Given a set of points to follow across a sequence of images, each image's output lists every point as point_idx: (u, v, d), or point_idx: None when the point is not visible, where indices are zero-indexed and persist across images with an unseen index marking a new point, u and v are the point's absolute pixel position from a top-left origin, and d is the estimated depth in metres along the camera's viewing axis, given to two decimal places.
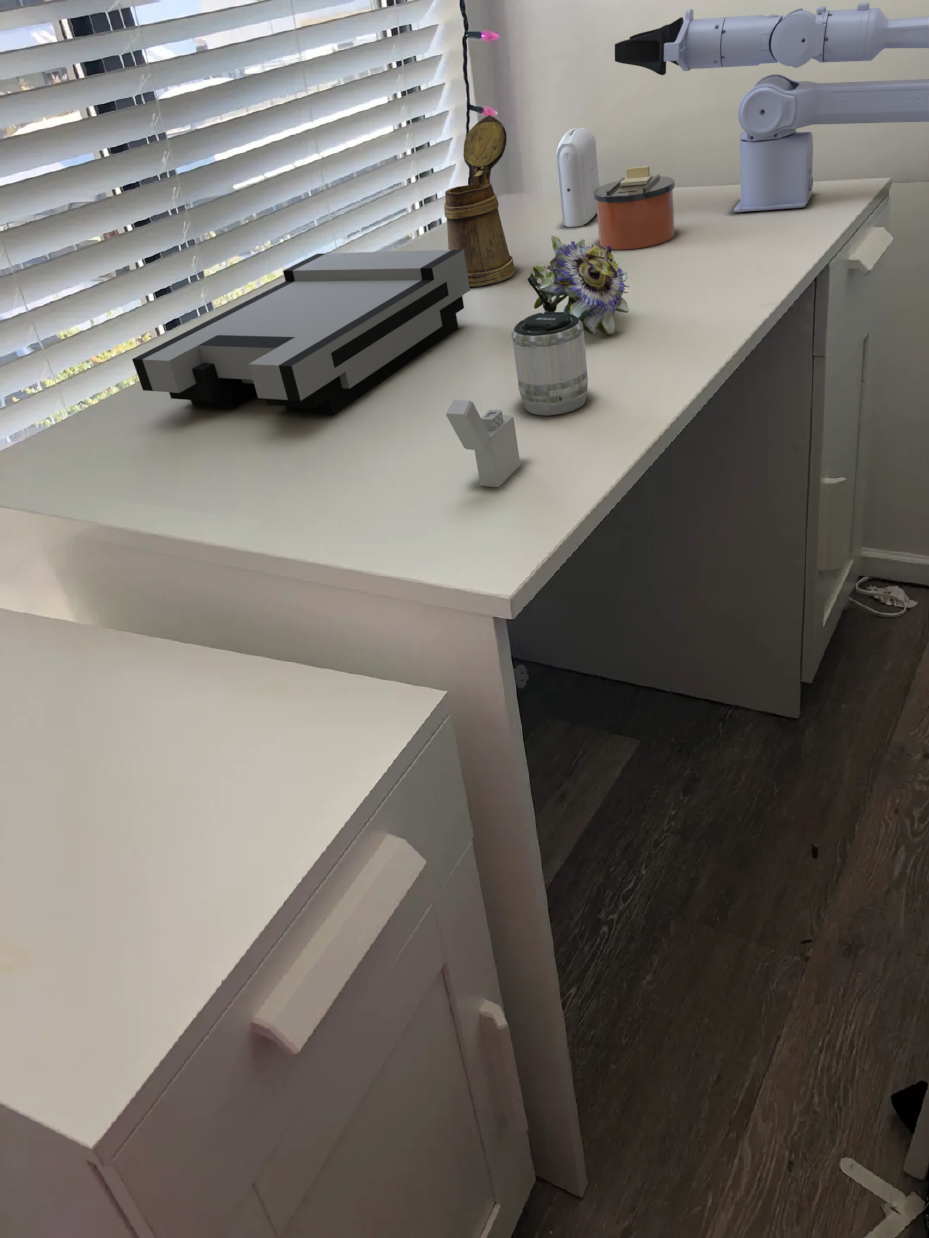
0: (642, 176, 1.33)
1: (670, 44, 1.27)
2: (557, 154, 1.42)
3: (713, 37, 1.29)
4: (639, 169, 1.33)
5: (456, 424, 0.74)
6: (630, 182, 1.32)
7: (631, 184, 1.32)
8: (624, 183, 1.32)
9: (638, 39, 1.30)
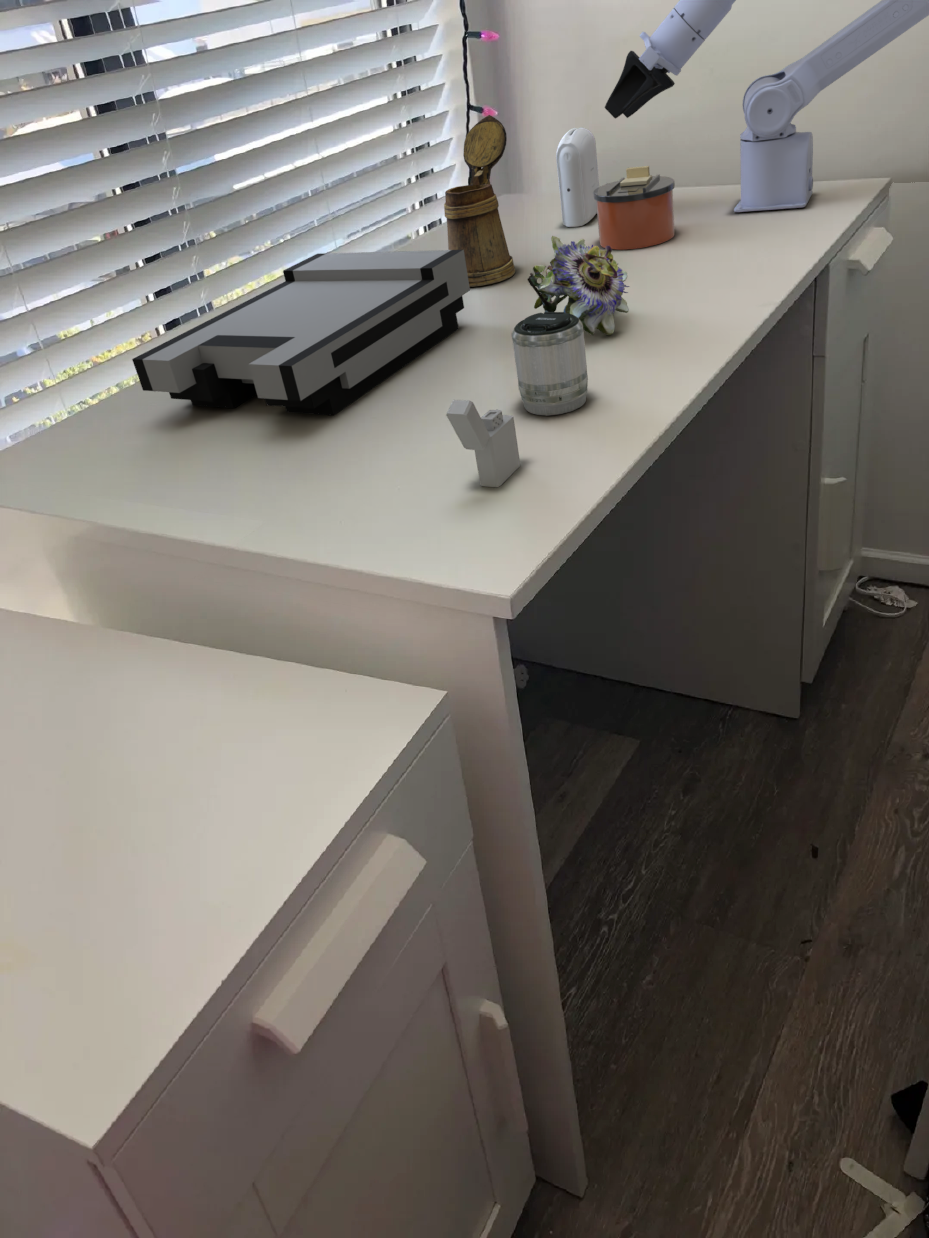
0: (642, 176, 1.33)
1: (643, 53, 1.27)
2: (557, 154, 1.42)
3: (675, 24, 1.28)
4: (639, 169, 1.33)
5: (456, 424, 0.74)
6: (630, 182, 1.32)
7: (631, 184, 1.32)
8: (624, 183, 1.32)
9: (618, 83, 1.31)
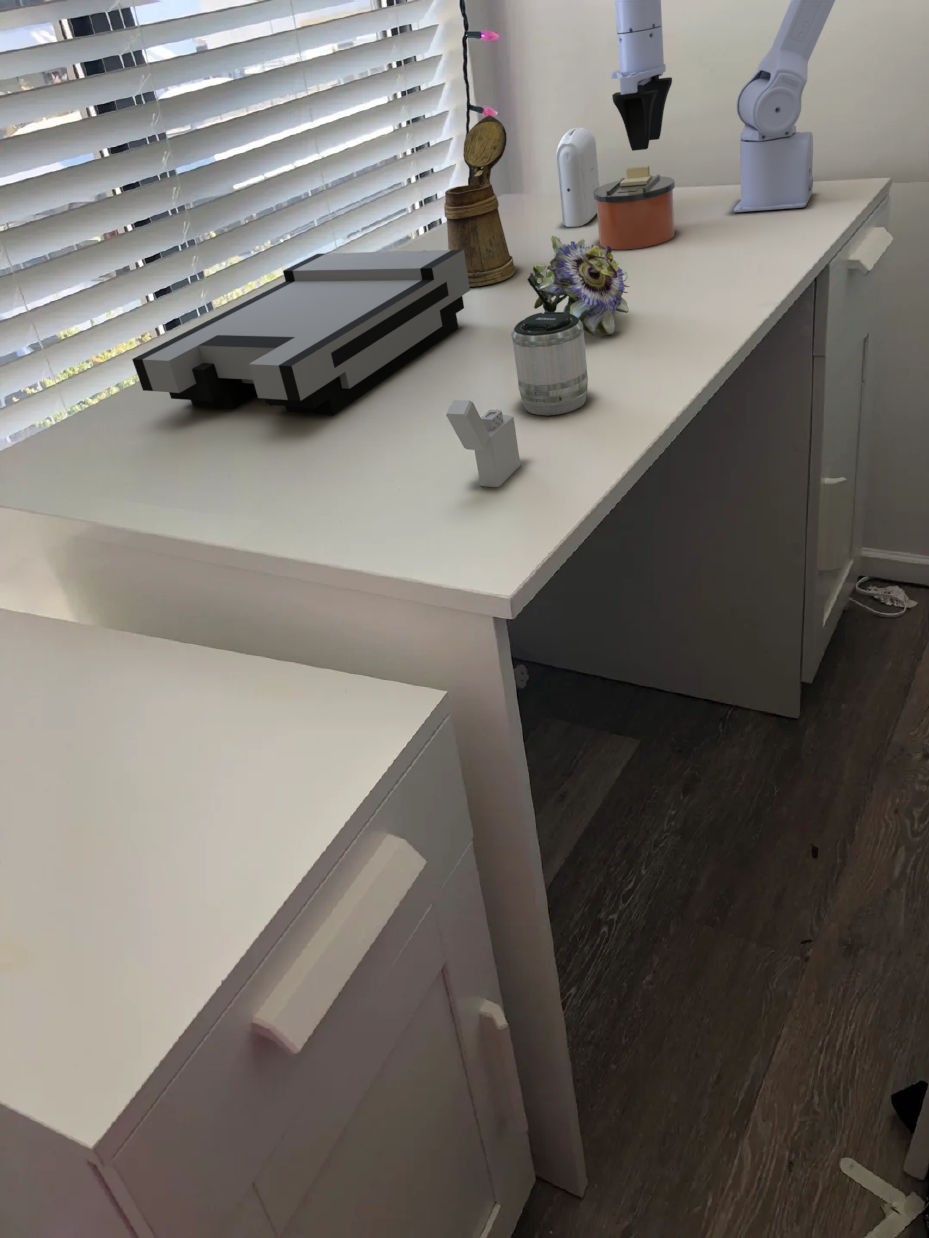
0: (642, 176, 1.33)
1: (620, 88, 1.26)
2: (557, 154, 1.42)
3: (627, 42, 1.27)
4: (639, 169, 1.33)
5: (456, 424, 0.74)
6: (630, 182, 1.32)
7: (631, 184, 1.32)
8: (624, 183, 1.32)
9: (625, 124, 1.31)
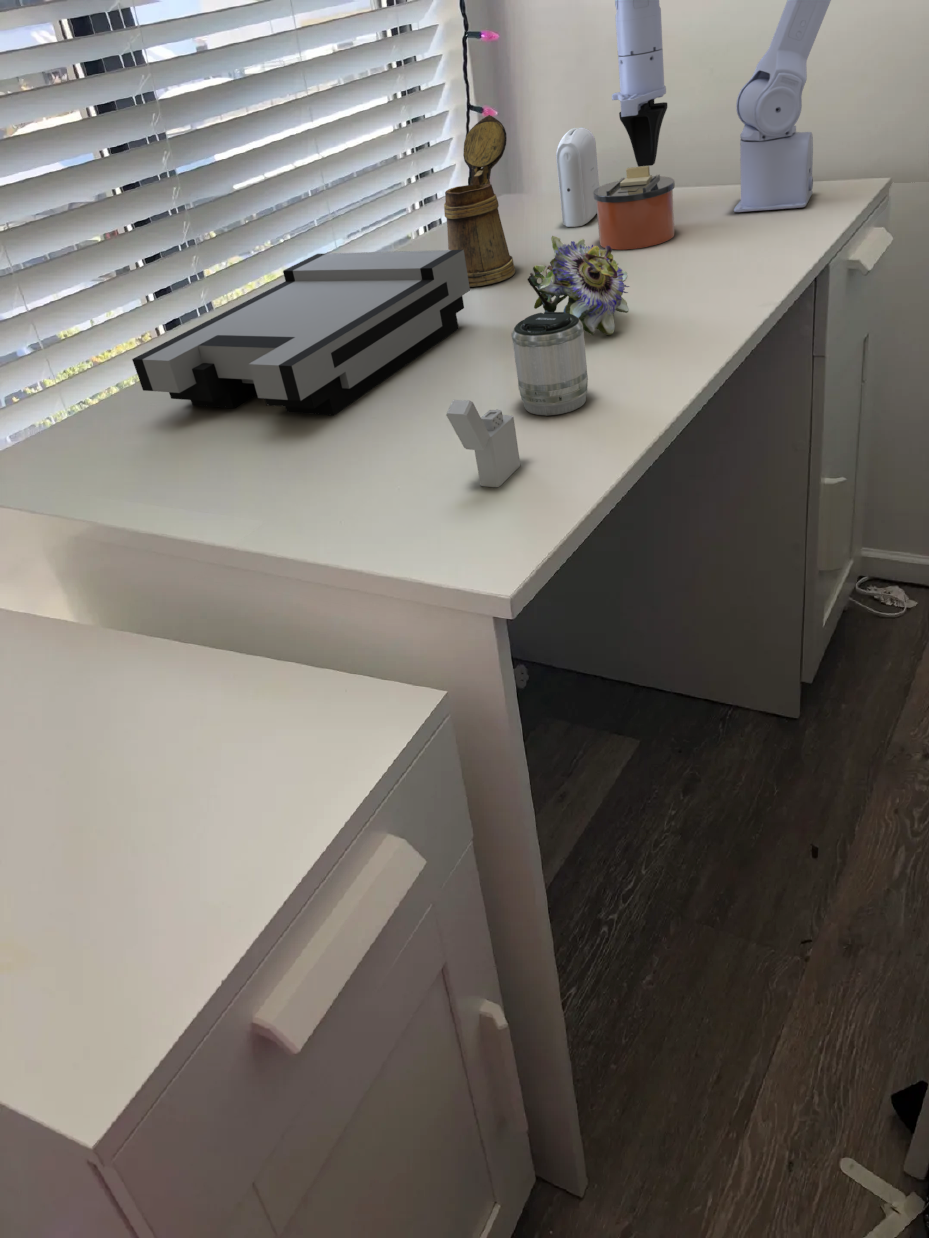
0: (642, 176, 1.33)
1: (621, 110, 1.27)
2: (557, 154, 1.42)
3: (628, 65, 1.28)
4: (639, 169, 1.33)
5: (456, 424, 0.74)
6: (630, 182, 1.32)
7: (631, 184, 1.32)
8: (624, 183, 1.32)
9: (631, 141, 1.35)
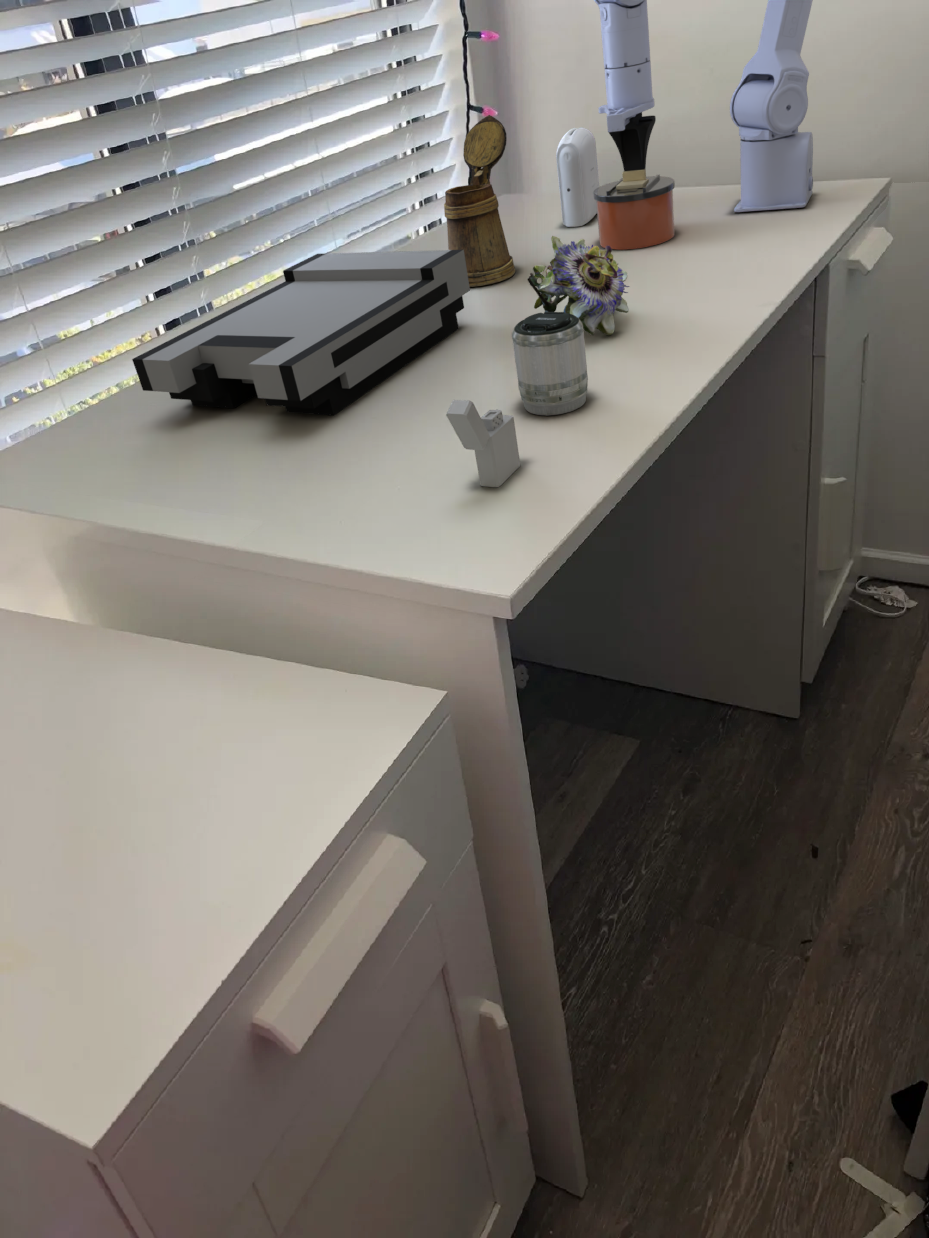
0: (638, 179, 1.32)
1: (607, 125, 1.23)
2: (557, 154, 1.42)
3: (614, 77, 1.24)
4: (635, 172, 1.31)
5: (456, 424, 0.74)
6: (626, 185, 1.31)
7: (627, 188, 1.31)
8: (620, 186, 1.31)
9: (621, 154, 1.31)
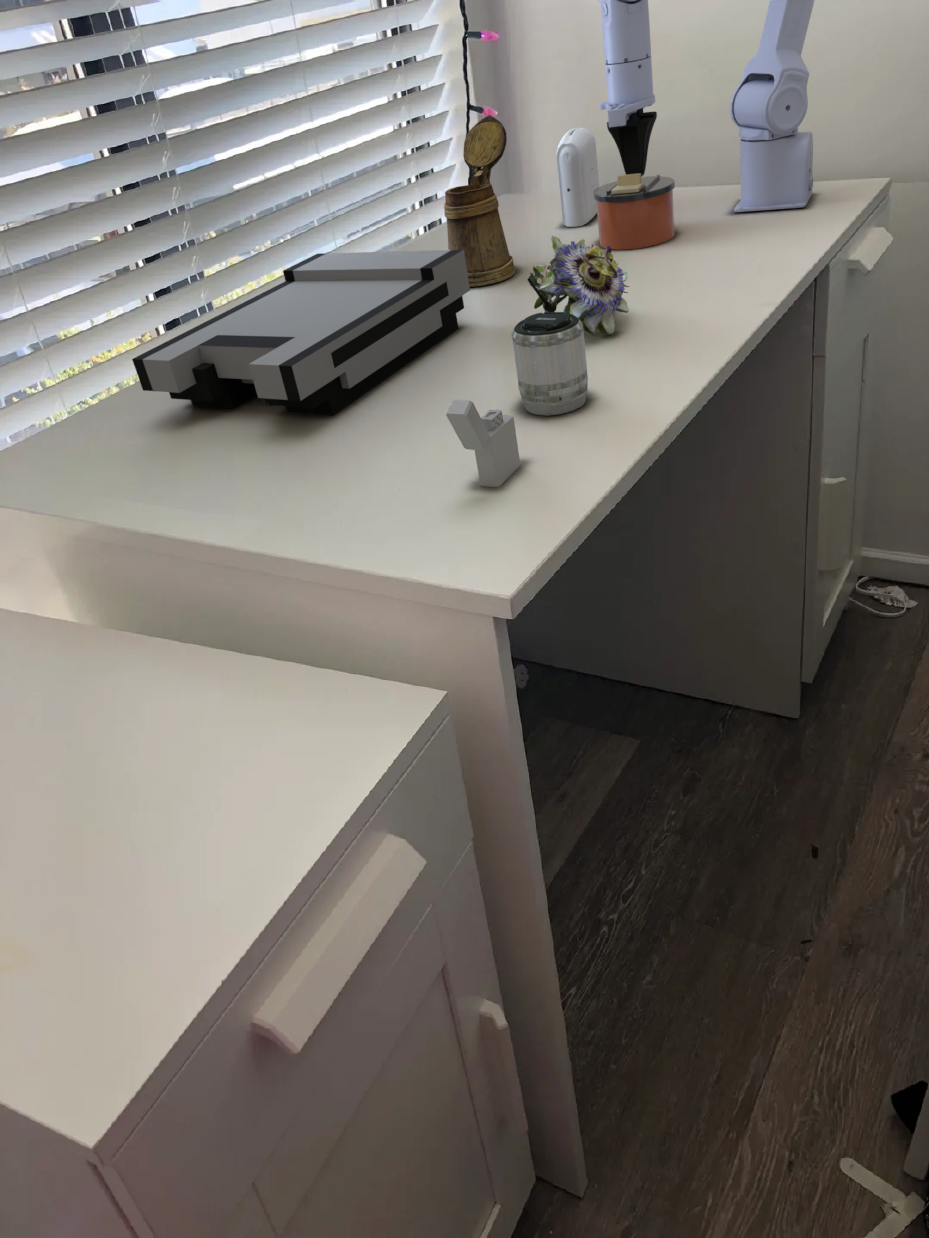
0: (634, 184, 1.30)
1: (608, 120, 1.23)
2: (557, 154, 1.42)
3: (615, 73, 1.24)
4: (631, 176, 1.30)
5: (456, 424, 0.74)
6: (621, 190, 1.29)
7: (622, 192, 1.29)
8: (615, 191, 1.29)
9: (620, 152, 1.30)
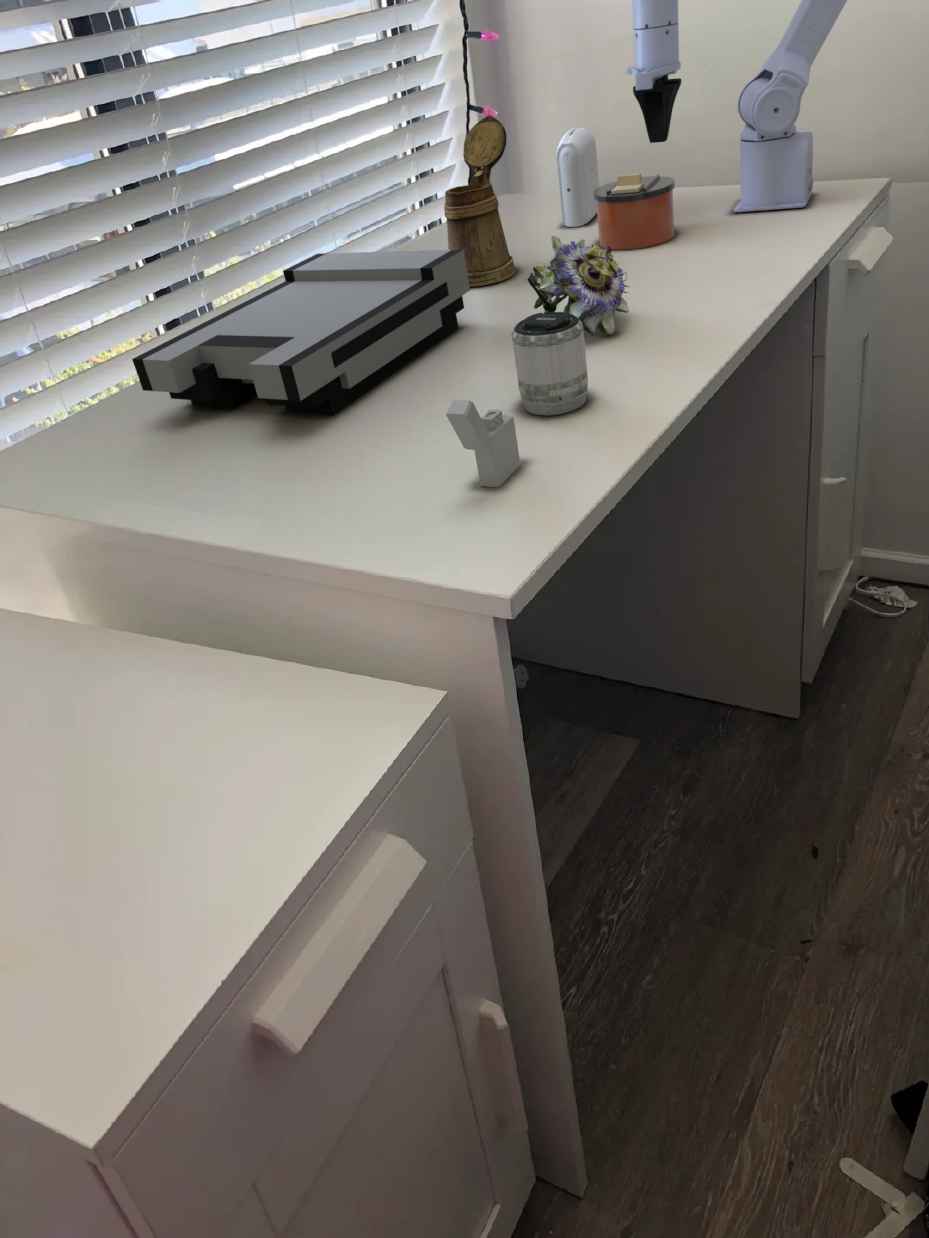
0: (634, 184, 1.30)
1: (635, 83, 1.27)
2: (557, 154, 1.42)
3: (643, 38, 1.27)
4: (631, 176, 1.30)
5: (456, 424, 0.74)
6: (621, 190, 1.29)
7: (622, 192, 1.29)
8: (615, 191, 1.29)
9: (644, 117, 1.34)
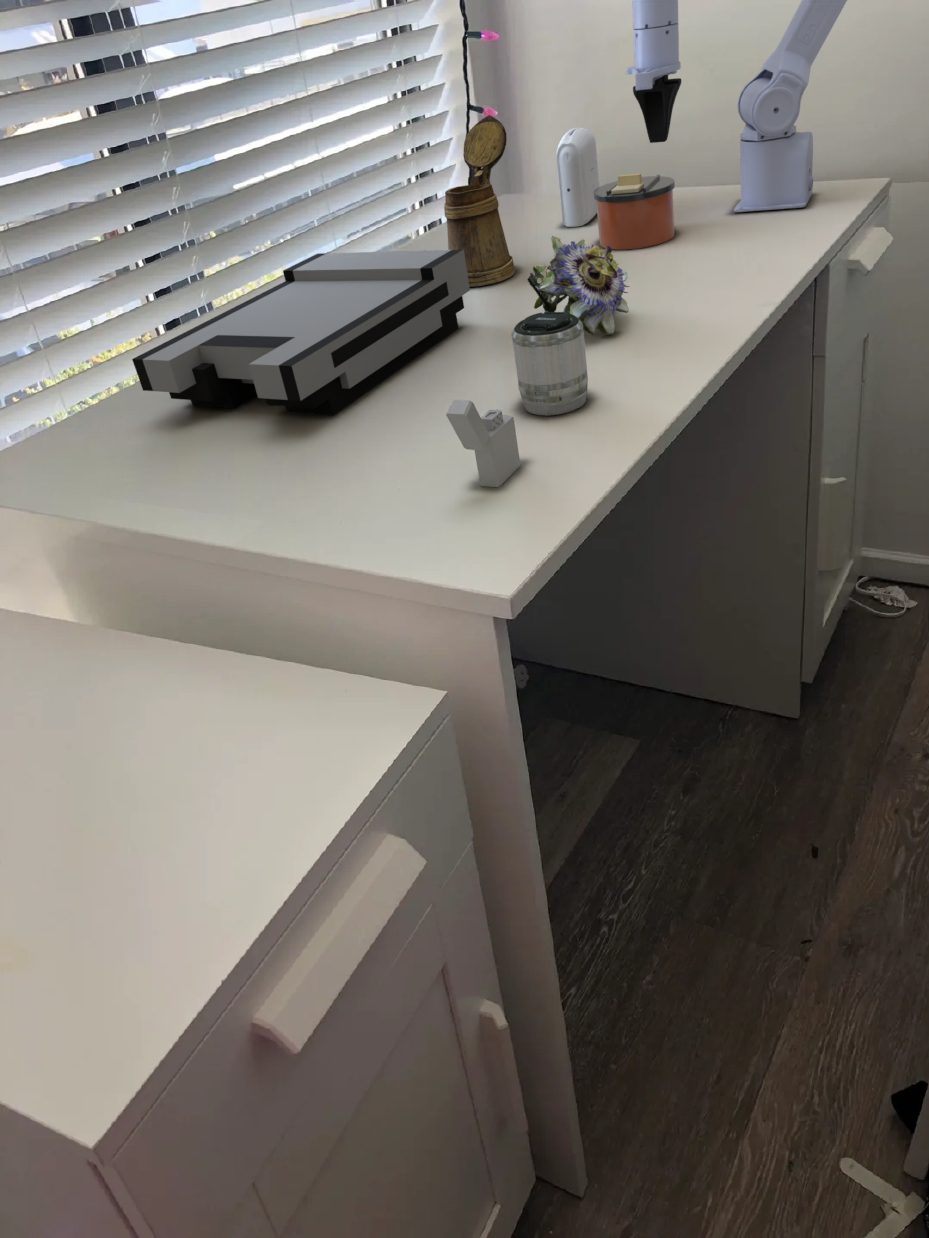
0: (634, 184, 1.30)
1: (635, 83, 1.27)
2: (557, 154, 1.42)
3: (643, 38, 1.27)
4: (631, 176, 1.30)
5: (456, 424, 0.74)
6: (621, 190, 1.29)
7: (622, 192, 1.29)
8: (615, 191, 1.29)
9: (644, 117, 1.34)
